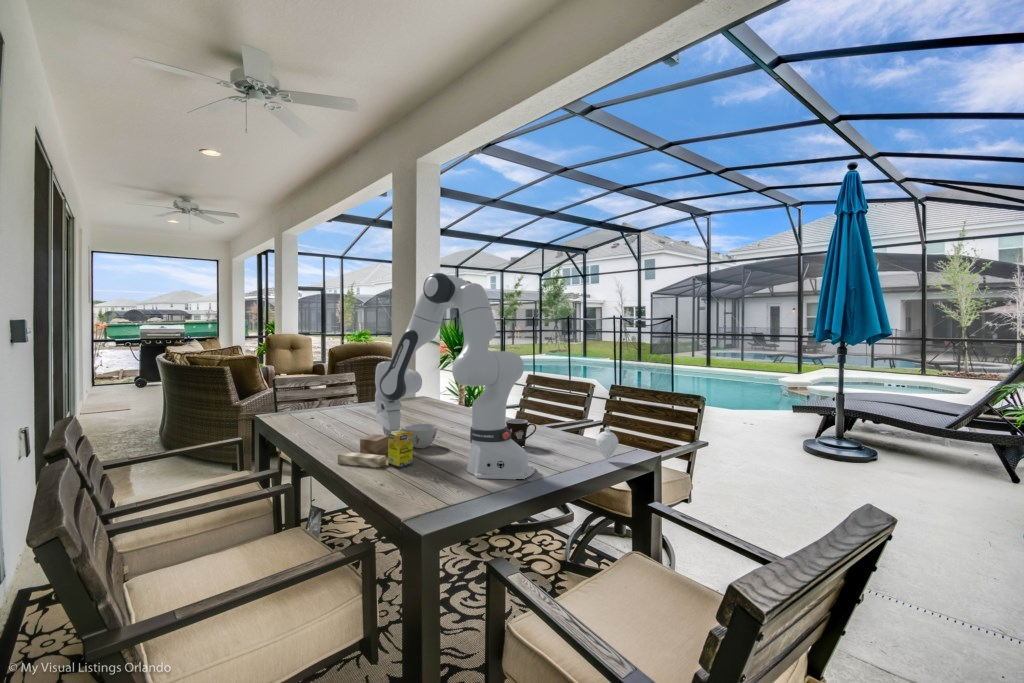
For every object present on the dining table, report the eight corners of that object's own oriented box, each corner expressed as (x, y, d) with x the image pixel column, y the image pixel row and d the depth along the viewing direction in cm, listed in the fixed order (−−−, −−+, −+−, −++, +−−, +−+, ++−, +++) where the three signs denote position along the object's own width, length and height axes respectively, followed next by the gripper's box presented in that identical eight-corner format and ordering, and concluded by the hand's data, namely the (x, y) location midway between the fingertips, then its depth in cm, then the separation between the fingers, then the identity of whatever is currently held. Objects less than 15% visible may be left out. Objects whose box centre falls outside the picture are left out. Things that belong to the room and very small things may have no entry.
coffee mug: (503, 448, 180) (504, 422, 179) (507, 443, 188) (508, 418, 188) (533, 450, 178) (534, 424, 178) (536, 444, 186) (536, 419, 186)
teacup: (442, 443, 187) (442, 423, 186) (431, 452, 174) (431, 430, 174) (406, 441, 189) (406, 421, 189) (393, 449, 177) (393, 428, 177)
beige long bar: (385, 464, 159) (385, 455, 158) (379, 467, 155) (379, 458, 155) (344, 460, 163) (344, 451, 163) (337, 463, 159) (337, 454, 159)
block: (389, 451, 175) (389, 435, 174) (376, 457, 167) (376, 440, 167) (373, 449, 177) (373, 434, 177) (360, 455, 170) (360, 439, 169)
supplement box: (399, 468, 154) (399, 436, 154) (387, 465, 158) (387, 433, 157) (413, 464, 159) (413, 432, 158) (401, 461, 162) (401, 430, 162)
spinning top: (607, 466, 159) (608, 431, 159) (591, 460, 165) (591, 427, 165) (622, 462, 164) (623, 428, 163) (606, 457, 170) (606, 424, 169)
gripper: (371, 399, 187) (371, 433, 187) (386, 407, 169) (386, 444, 170) (387, 397, 190) (387, 431, 191) (403, 405, 173) (403, 442, 173)
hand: (387, 438), depth 180 cm, fingers closed
